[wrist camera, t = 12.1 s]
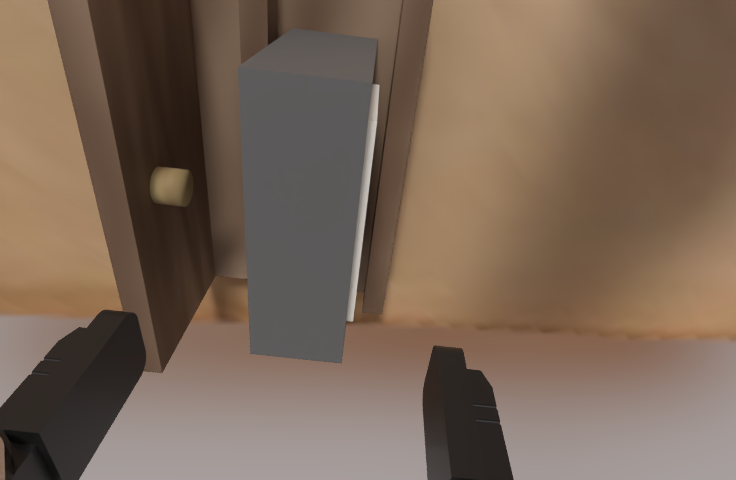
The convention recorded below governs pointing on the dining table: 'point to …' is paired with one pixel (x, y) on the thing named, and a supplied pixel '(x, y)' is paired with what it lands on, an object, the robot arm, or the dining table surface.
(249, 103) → the mini frame
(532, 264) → the dining table surface
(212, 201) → the picture ledge
